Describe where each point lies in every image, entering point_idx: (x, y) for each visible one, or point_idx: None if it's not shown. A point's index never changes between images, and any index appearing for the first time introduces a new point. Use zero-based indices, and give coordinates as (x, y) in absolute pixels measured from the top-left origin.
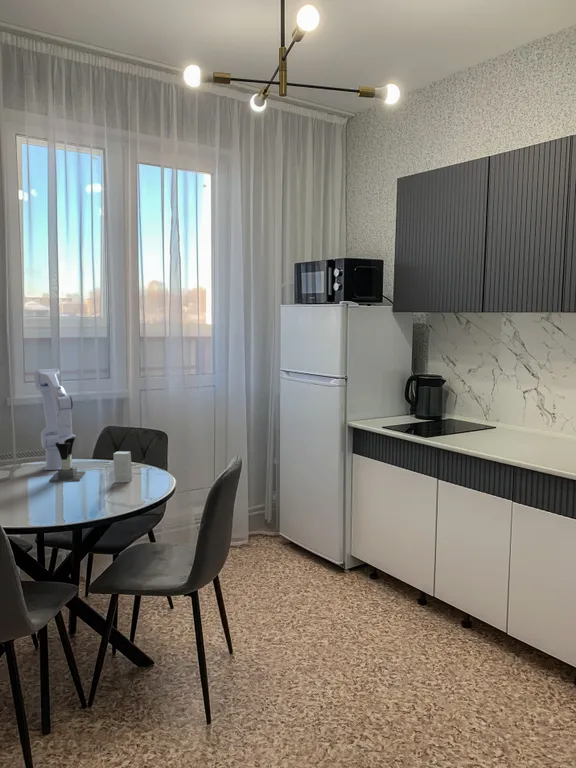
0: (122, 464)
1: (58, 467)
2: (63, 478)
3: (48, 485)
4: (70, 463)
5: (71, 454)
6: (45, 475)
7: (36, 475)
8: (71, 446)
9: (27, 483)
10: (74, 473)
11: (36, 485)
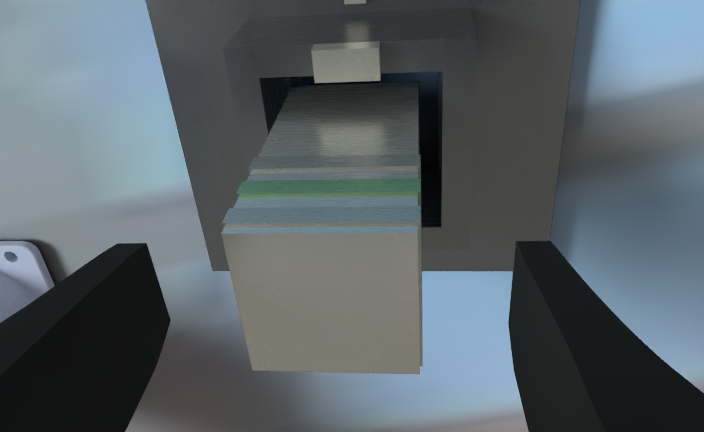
0: None
1: (18, 290)
2: (498, 134)
3: (679, 235)
4: (387, 144)
5: (228, 229)
6: None
7: (259, 399)
8: (30, 365)
9: None
10: (393, 22)
11: None
